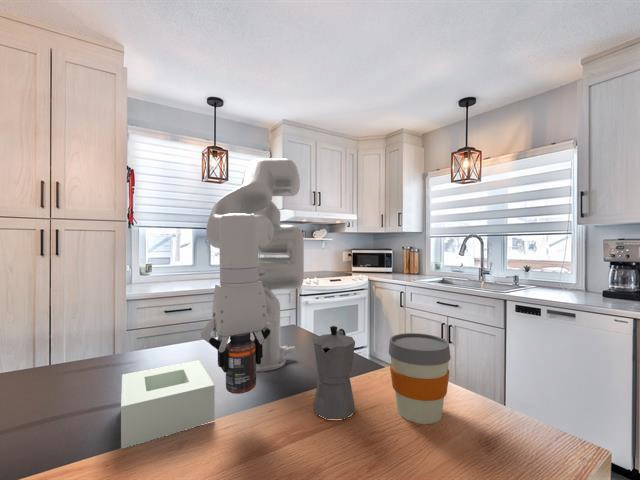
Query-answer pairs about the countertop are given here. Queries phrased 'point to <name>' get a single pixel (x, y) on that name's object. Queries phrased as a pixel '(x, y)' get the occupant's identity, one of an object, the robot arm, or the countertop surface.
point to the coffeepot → (334, 374)
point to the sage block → (165, 401)
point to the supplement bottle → (241, 364)
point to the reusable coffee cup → (419, 375)
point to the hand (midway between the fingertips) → (240, 364)
